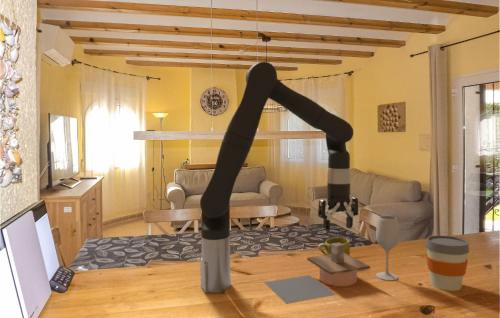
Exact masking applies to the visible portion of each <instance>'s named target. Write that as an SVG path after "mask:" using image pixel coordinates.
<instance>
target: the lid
mask: <svg viewBox="0 0 500 318" xmlns="http://www.w3.org/2000/svg"><path fill="white" fill-rule="evenodd" d="M306 259H307V261H308V262H310V263H311V264H313V265H315V266H316V267H318V268H319V269H320V268H321V269H323V270H324V271H326V272H327V273H329V274H330V275H332V274H338V273H344V272H350V271H356V270H357V271H360V270H361V271H363V270H367V269H371V265H369V264H367V263H366V262H363V261H362V260H359V259H358V258H355V257H354V256H352V255H351V254H350V255H348V254H346V253H344V245H343V244H341V243H332V245H331V254H328V255H324V254H322V255H314V256H308V257H306Z"/></svg>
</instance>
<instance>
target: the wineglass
mask: <svg viewBox="0 0 500 318" xmlns="http://www.w3.org/2000/svg"><path fill="white" fill-rule="evenodd" d="M375 238H376V241H377V244H378V245H379V246H380V247H381V249H384V251H385V254H386V255H385V271H380V272H376V274H375V277H376V278H377V277H378V278H377V279H380V280H383V281H386V282H387V281H389V282H390V281H396V280H398V279H399V277H398V275H397V274H395V273H392V272H389V253H390V251H391V250H393V249H394V248H395V247H396V246H397V245H398V243H399V242H400V227H399V222H398V217H396V216H393V215H380V216H378V218H377V224H376V229H375Z"/></svg>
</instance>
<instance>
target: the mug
mask: <svg viewBox="0 0 500 318" xmlns="http://www.w3.org/2000/svg"><path fill="white" fill-rule="evenodd" d="M332 243H341V244H343V245H344V253H346V254H348V255H350V256H351V254H350V253H351V252H350V251H351V250H350V249H351V247H350V246H351V244H350V240H349V238H345V237H341V236H340V237H331V238H327V239H326V240H325V243H324V242H321V243H319V244H318V247H317V248H318V250H319V251H320V252H321V253H322V255H328V254H331V245H332ZM323 248H324V249H325V251H326V252H325V251H324V249H323Z"/></svg>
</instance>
